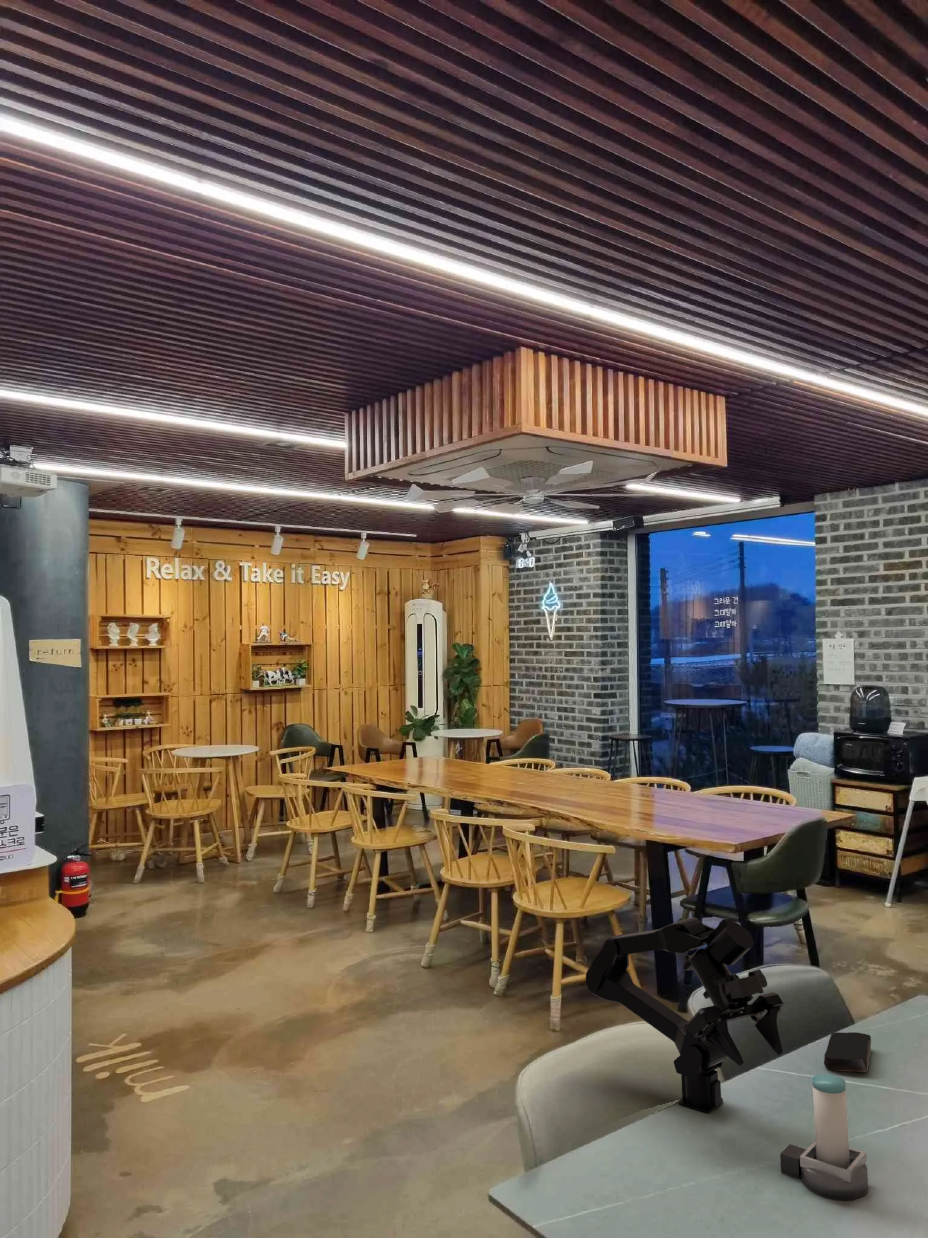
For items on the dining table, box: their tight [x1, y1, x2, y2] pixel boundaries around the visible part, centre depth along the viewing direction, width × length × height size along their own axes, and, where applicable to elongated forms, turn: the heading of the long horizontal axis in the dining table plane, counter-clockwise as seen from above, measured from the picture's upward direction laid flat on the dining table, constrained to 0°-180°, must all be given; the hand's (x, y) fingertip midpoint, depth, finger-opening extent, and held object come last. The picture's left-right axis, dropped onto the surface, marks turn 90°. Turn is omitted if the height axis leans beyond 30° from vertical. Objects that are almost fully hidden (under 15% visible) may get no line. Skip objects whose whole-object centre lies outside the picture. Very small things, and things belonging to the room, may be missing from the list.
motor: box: [779, 1139, 869, 1202], centre depth 149 cm, size 13×10×4 cm
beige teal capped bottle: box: [811, 1073, 850, 1169], centre depth 149 cm, size 5×5×13 cm
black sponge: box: [823, 1031, 872, 1073], centre depth 196 cm, size 16×8×4 cm, turn 153°
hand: (761, 1059), depth 164 cm, fingers open, 9 cm apart
